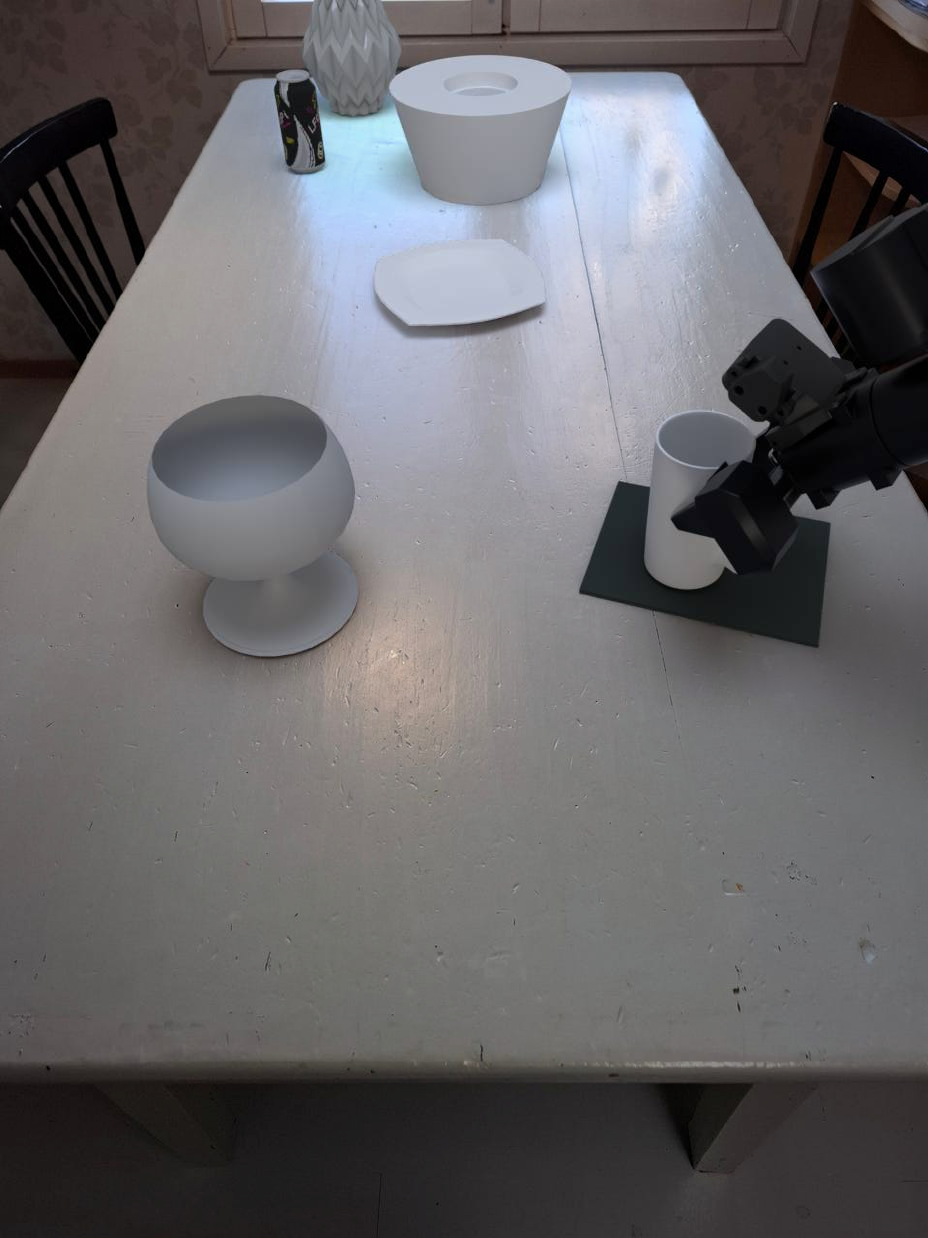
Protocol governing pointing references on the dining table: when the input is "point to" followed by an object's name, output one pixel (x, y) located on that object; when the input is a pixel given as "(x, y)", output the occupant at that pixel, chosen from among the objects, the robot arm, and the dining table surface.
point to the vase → (351, 53)
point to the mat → (748, 604)
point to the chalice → (258, 519)
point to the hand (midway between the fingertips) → (696, 497)
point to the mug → (689, 493)
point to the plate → (458, 282)
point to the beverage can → (299, 121)
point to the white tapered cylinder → (481, 124)
